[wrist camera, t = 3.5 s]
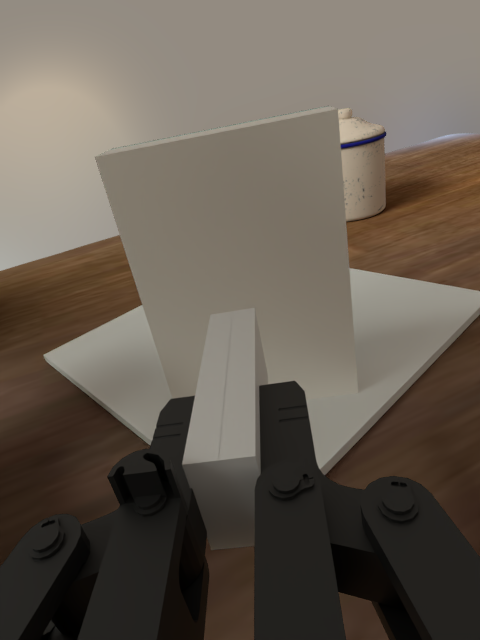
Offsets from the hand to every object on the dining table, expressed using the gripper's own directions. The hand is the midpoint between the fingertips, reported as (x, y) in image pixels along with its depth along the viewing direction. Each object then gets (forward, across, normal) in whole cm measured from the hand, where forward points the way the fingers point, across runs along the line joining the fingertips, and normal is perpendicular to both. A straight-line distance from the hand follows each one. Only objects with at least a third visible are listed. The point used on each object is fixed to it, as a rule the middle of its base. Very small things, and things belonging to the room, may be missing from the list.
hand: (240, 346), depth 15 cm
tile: (+8, 0, -8) cm, 11 cm away
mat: (+15, -1, -8) cm, 18 cm away
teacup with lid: (+42, +10, -8) cm, 44 cm away
